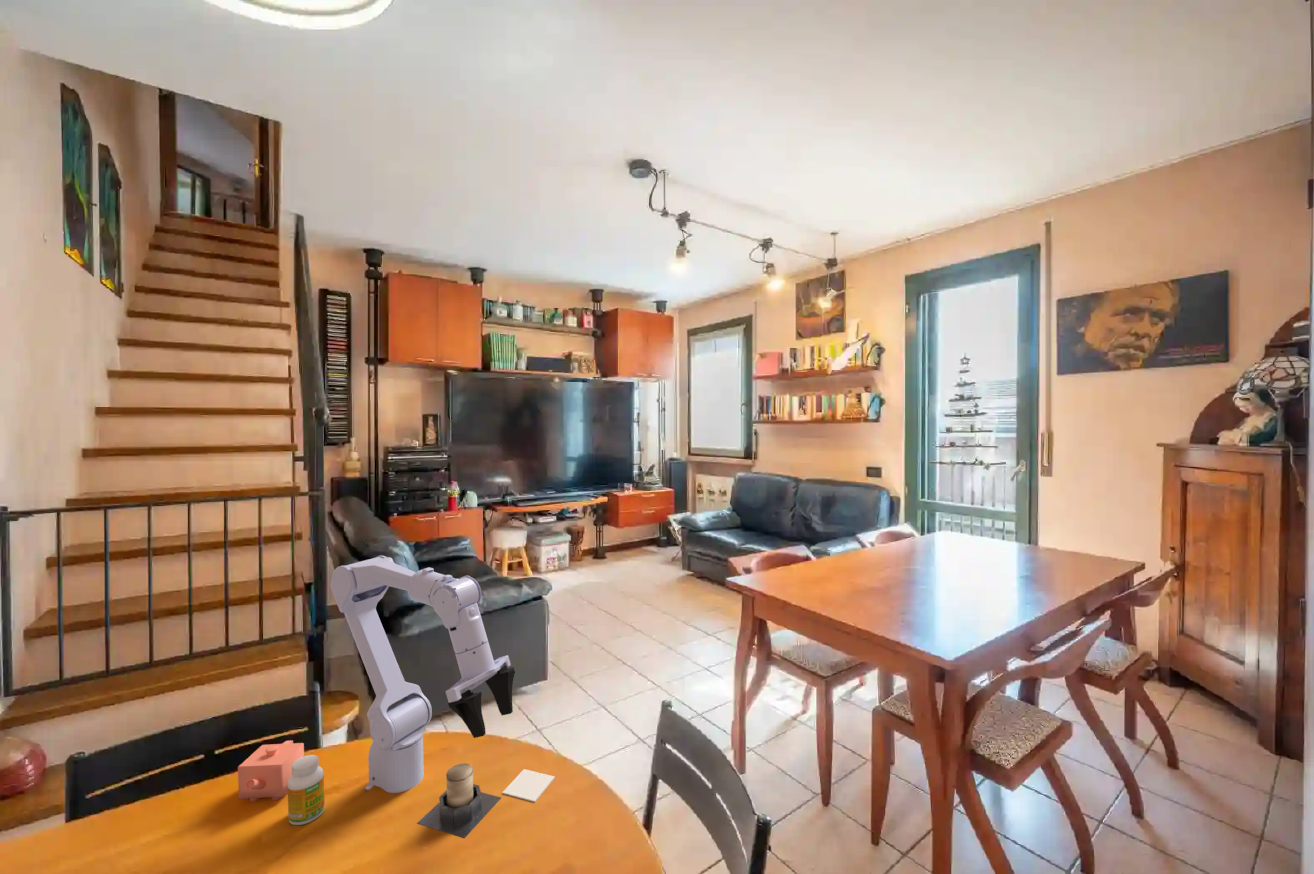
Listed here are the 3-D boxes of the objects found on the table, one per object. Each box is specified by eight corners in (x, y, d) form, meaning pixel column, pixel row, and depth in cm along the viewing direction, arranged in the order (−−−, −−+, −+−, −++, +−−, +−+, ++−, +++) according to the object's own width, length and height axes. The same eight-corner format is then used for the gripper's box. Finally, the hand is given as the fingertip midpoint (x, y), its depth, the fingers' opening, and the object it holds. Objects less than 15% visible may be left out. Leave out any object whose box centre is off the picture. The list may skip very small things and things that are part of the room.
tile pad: (502, 797, 99) (502, 792, 99) (524, 773, 106) (523, 768, 106) (535, 806, 97) (535, 800, 97) (555, 781, 104) (555, 776, 103)
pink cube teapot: (226, 817, 95) (224, 771, 95) (270, 772, 107) (269, 732, 107) (272, 814, 96) (270, 769, 95) (311, 770, 108) (309, 730, 107)
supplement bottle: (307, 828, 92) (305, 773, 92) (280, 823, 93) (278, 769, 93) (331, 806, 98) (330, 753, 97) (306, 802, 99) (305, 750, 98)
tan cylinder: (441, 815, 94) (440, 776, 94) (458, 798, 98) (458, 761, 98) (462, 821, 92) (461, 782, 92) (478, 804, 96) (478, 766, 96)
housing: (417, 827, 92) (416, 808, 92) (457, 789, 102) (456, 772, 101) (464, 842, 89) (464, 823, 89) (501, 801, 98) (501, 784, 98)
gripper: (461, 658, 86) (485, 742, 85) (514, 628, 100) (535, 700, 98) (428, 667, 89) (451, 750, 87) (484, 636, 102) (505, 707, 101)
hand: (494, 724), depth 93 cm, fingers open, 7 cm apart
